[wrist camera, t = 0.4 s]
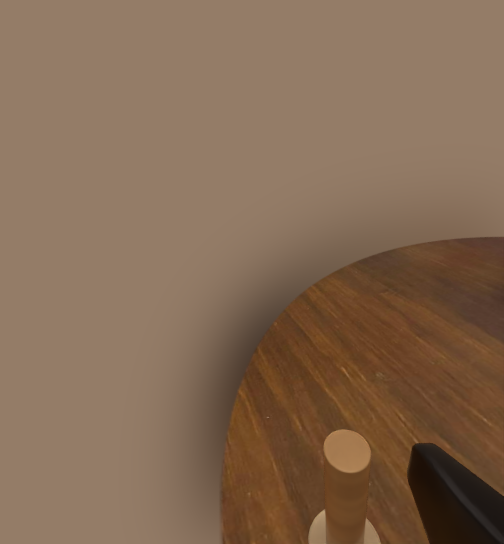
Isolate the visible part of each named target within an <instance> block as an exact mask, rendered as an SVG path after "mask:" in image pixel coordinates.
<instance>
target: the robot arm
mask: <svg viewBox="0 0 504 544" xmlns="http://www.w3.org/2000/svg"><path fill="white" fill-rule="evenodd" d="M407 477H408V482H409V485H410V488H411V491H412V494H413V497H414V500H415V503H416V505H417V508H418V511H419V514H420V517H421V520H422V523H423V526H424V529H425V532H426V534H427V537H428V540H429V543H430V544H504V496H502V495H501V494H500V493H498V492H497V491H496V490H494V489H493V488H492V487H491V486H489V485H488V484H487V483H485V482H484V481H483V480H481V479H480V478H479V477H477V476H476V475H475V474H474V473H472V472H471V471H470V470H468V469H467V468H466V467H464V466H463V465H462V464H460V463H459V462H458V461H457V460H455V459H454V458H453V457H451V456H450V455H449V454H447V453H446V452H445V451H443V450H442V449H441V448H440V447H438V446H437V445H435V444H433V443H417V444H415V445H414V446H413V447H412V451H411V456H410V460H409V465H408V470H407Z"/></svg>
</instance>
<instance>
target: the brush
mask: <svg viewBox="0 0 504 544" xmlns="http://www.w3.org/2000/svg"><path fill="white" fill-rule="evenodd" d="M323 453H324V487H325V510H323V511H322V512H321V513H319V514H318V515H317V516H316V518H315V519H314V521H313V523H312V525H311V527H310V531H309V537H308V544H381V542H380V539H379V536H378V534H377V532H376V530H375V529H374V527H373V526H372V524H371V523H370V522H369V521H368V519H366V512H367V500H368V489H369V477H370V466H371V449H370V447H369V444H368V443H367V441H366V440H365V439H364V438H363V437H362V436H361V435H359V434H358V433H356V432H354V431H351V430H337V431H334V432H332V433H331V434H330V435H329V436H328V437H327V438H326V440H325V442H324V447H323Z"/></svg>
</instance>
